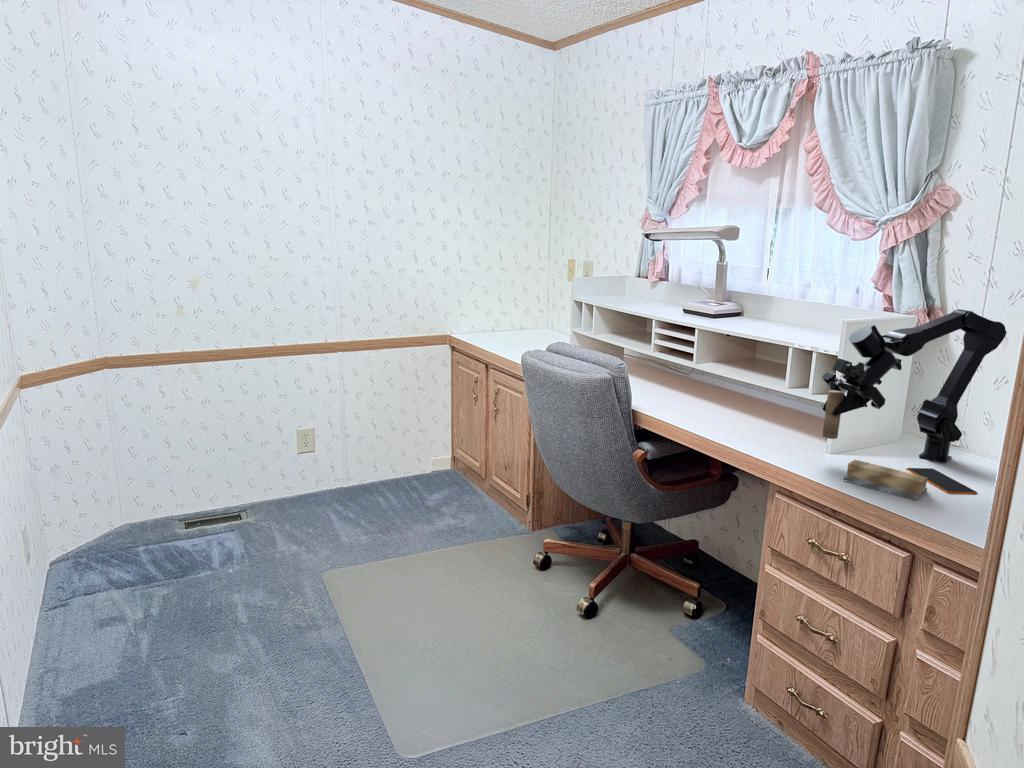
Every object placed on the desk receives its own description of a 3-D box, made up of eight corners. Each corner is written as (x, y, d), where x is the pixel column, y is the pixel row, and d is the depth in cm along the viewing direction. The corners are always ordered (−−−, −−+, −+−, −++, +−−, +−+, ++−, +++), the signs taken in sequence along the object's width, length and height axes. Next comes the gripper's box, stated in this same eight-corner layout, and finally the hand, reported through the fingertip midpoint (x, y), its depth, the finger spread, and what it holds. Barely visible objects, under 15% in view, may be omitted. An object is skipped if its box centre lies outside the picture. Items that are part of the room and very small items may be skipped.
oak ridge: (843, 480, 165) (845, 465, 164) (855, 473, 171) (857, 458, 170) (916, 500, 154) (919, 484, 153) (926, 491, 160) (929, 475, 159)
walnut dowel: (824, 433, 179) (830, 389, 177) (839, 436, 177) (845, 392, 174) (820, 436, 177) (826, 391, 174) (834, 439, 174) (841, 394, 172)
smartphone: (932, 470, 176) (933, 467, 175) (978, 496, 159) (979, 492, 159) (904, 470, 175) (904, 467, 175) (947, 495, 159) (948, 492, 159)
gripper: (832, 341, 181) (790, 383, 182) (881, 355, 163) (834, 400, 164) (855, 370, 184) (813, 410, 185) (905, 386, 166) (858, 431, 167)
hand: (828, 412), depth 175 cm, fingers closed on walnut dowel, 4 cm apart
